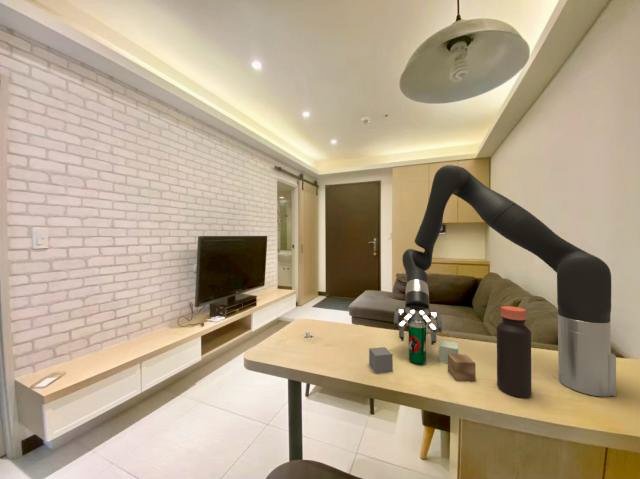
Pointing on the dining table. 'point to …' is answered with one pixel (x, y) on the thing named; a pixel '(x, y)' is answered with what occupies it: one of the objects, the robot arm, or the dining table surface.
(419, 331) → the soda can
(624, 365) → the dining table surface
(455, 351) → the sage block
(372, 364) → the charcoal block
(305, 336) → the power adapter
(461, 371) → the walnut block
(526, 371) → the bottle
